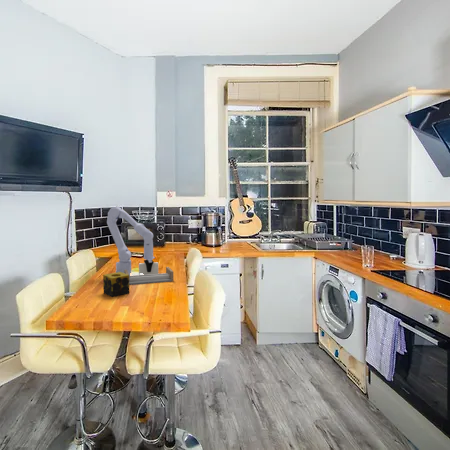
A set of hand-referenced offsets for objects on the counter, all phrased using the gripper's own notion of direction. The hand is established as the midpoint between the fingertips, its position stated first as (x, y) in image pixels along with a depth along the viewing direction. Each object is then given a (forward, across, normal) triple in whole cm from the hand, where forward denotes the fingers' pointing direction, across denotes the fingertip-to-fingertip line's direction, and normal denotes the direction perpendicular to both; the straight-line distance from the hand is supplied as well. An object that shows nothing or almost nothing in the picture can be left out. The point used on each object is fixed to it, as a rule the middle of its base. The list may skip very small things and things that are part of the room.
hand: (148, 271), depth 216 cm
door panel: (+2, 0, 0) cm, 2 cm away
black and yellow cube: (+3, -34, +22) cm, 41 cm away
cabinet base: (+2, -13, +2) cm, 13 cm away
